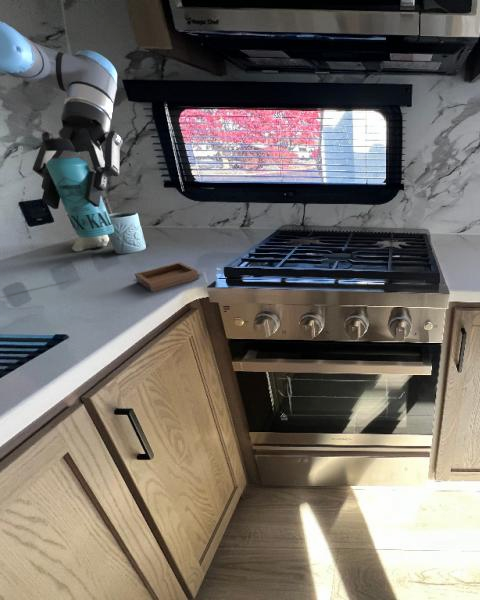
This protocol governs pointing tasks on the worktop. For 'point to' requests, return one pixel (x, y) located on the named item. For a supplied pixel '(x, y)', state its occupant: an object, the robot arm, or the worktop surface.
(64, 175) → the beverage bottle
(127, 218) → the light blue embossed planter
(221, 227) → the worktop surface
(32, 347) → the worktop surface
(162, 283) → the brown wooden shallow tray
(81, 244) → the cream animal figurine
